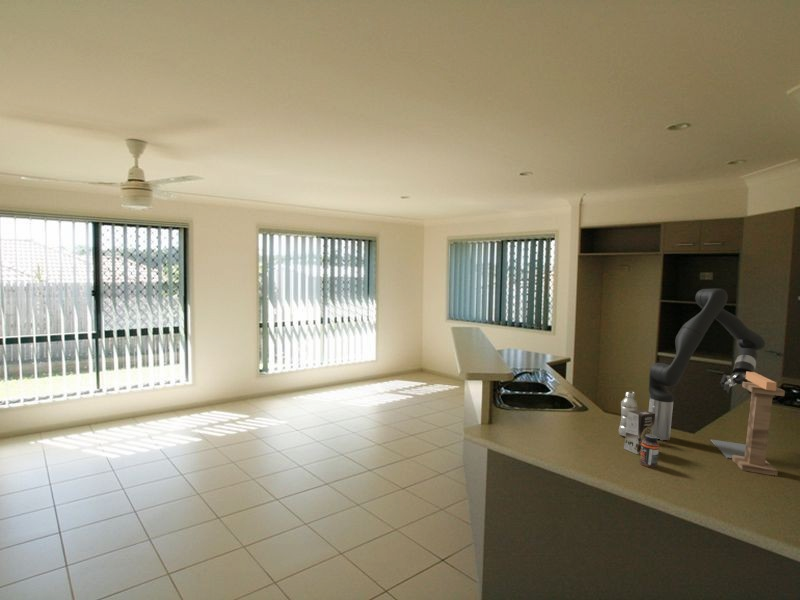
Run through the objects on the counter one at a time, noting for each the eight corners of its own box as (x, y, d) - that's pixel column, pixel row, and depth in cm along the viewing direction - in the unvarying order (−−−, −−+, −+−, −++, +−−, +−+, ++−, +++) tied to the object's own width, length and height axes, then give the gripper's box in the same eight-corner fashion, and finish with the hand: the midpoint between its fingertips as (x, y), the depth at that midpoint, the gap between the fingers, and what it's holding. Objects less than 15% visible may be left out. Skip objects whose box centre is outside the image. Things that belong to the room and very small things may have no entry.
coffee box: (637, 455, 185) (641, 415, 184) (623, 449, 191) (627, 410, 190) (652, 452, 189) (656, 413, 188) (637, 446, 195) (641, 408, 194)
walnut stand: (777, 476, 172) (787, 391, 170) (742, 470, 176) (751, 387, 174) (764, 464, 183) (773, 384, 180) (732, 459, 186) (740, 381, 184)
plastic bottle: (636, 440, 202) (641, 395, 201) (620, 438, 204) (624, 393, 202) (632, 435, 209) (636, 391, 207) (616, 433, 210) (620, 389, 209)
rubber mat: (768, 465, 183) (768, 463, 182) (727, 458, 187) (727, 457, 187) (747, 445, 203) (747, 444, 203) (710, 440, 208) (710, 439, 208)
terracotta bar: (775, 390, 170) (776, 382, 170) (766, 389, 171) (766, 381, 171) (754, 379, 189) (754, 372, 189) (745, 378, 190) (746, 371, 190)
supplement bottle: (636, 461, 178) (638, 432, 177) (650, 461, 179) (653, 433, 178) (645, 468, 172) (648, 438, 171) (660, 468, 173) (663, 438, 172)
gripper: (723, 361, 213) (715, 385, 204) (760, 359, 202) (754, 385, 192) (729, 373, 215) (722, 398, 206) (766, 372, 203) (760, 398, 194)
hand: (737, 392), depth 199 cm, fingers open, 8 cm apart
